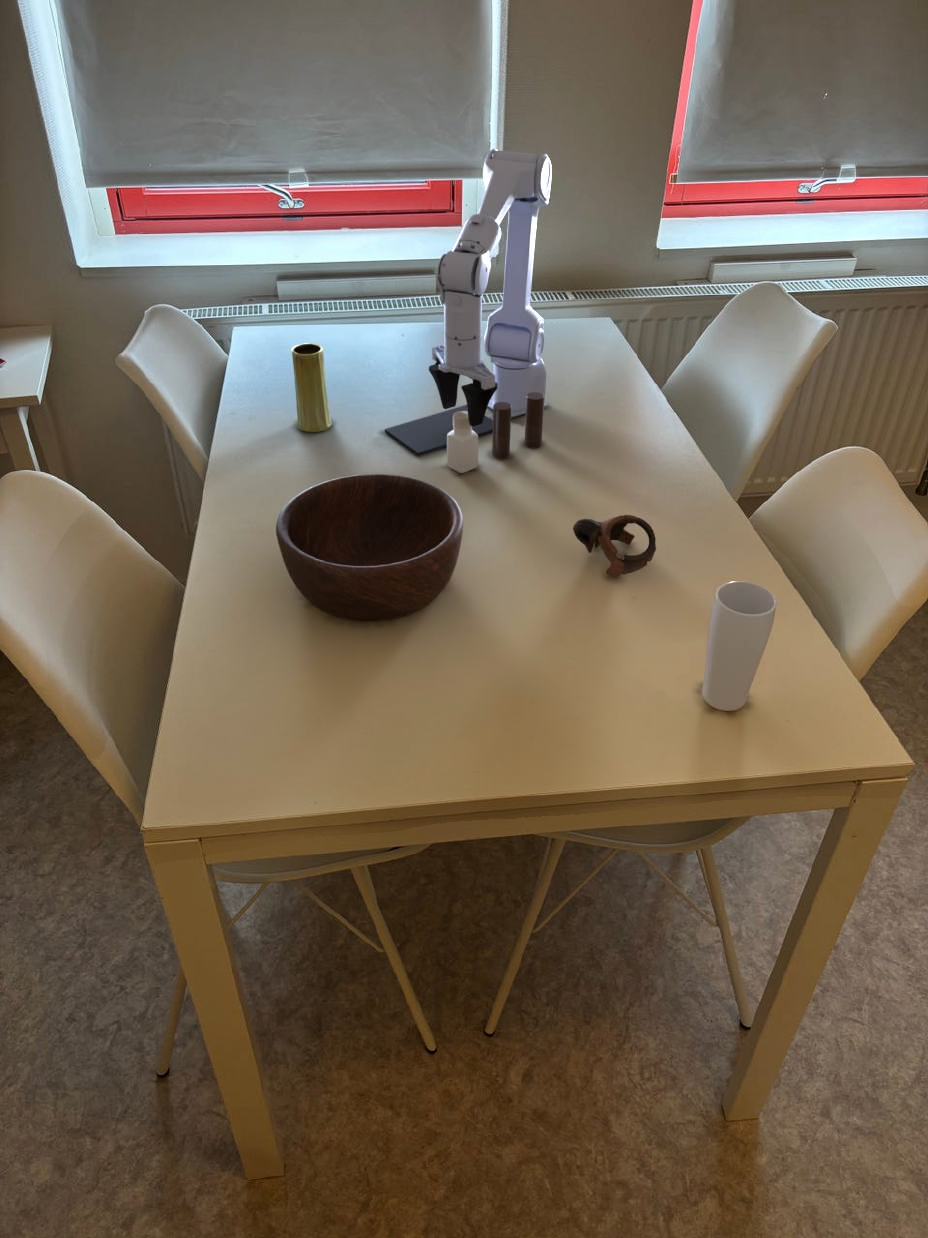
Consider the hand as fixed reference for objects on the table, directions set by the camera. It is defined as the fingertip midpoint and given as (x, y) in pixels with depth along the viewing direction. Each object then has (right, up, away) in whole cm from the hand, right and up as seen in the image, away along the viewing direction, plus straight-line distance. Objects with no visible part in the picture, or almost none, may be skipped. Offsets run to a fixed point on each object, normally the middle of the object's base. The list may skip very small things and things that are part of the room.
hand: (462, 415), depth 155 cm
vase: (-27, +2, +18) cm, 32 cm away
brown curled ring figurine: (+22, -24, -16) cm, 36 cm away
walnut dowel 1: (+7, -5, +9) cm, 12 cm away
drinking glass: (+31, -43, -40) cm, 66 cm away
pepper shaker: (0, -8, +6) cm, 10 cm away
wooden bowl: (-12, -28, -20) cm, 36 cm away
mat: (-3, +1, +16) cm, 17 cm away
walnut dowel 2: (+12, -2, +13) cm, 18 cm away
